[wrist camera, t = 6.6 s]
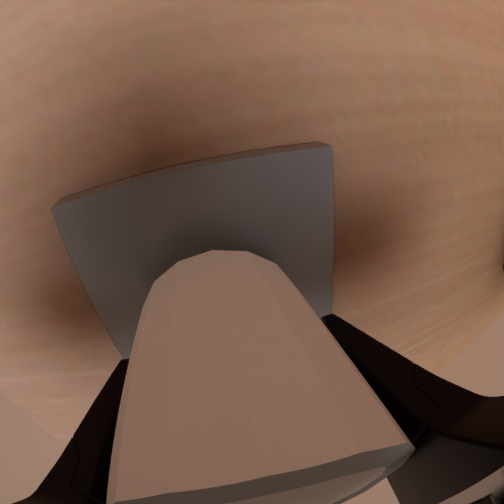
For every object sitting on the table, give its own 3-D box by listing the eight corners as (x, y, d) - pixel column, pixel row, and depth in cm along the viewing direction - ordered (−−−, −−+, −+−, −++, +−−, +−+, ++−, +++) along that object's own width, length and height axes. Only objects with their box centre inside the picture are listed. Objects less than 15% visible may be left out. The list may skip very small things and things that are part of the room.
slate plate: (320, 141, 10) (331, 146, 10) (322, 332, 15) (329, 345, 15) (60, 198, 9) (50, 208, 8) (143, 372, 14) (142, 387, 13)
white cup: (271, 190, 8) (434, 397, 2) (332, 331, 12) (411, 472, 6) (86, 294, 9) (38, 499, 3) (193, 394, 12) (216, 537, 6)
